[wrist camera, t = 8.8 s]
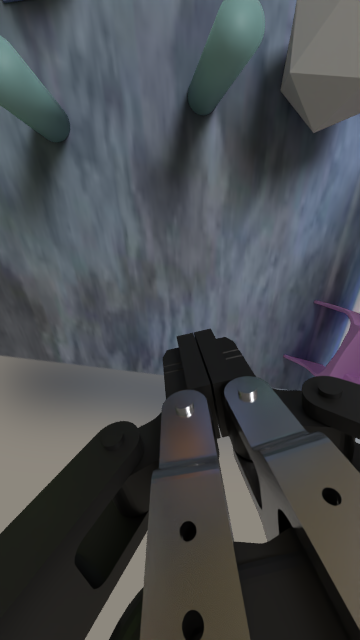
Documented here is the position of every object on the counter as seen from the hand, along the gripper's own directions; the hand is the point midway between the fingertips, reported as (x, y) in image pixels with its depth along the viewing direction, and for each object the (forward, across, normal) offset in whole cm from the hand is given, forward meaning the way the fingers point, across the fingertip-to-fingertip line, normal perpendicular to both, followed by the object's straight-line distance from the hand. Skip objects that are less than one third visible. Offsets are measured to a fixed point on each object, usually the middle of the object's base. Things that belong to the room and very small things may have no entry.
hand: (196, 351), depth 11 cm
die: (+18, -16, -13) cm, 27 cm away
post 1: (+17, +7, -14) cm, 23 cm away
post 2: (+17, -6, -14) cm, 23 cm away
